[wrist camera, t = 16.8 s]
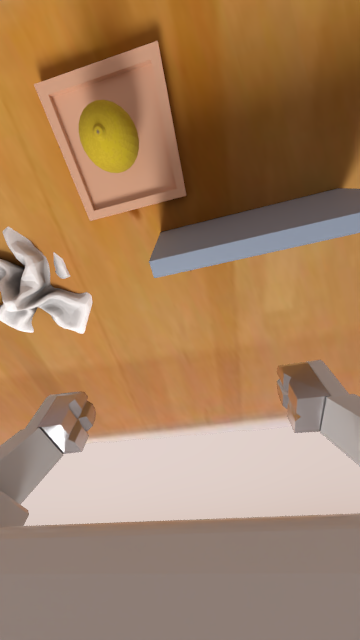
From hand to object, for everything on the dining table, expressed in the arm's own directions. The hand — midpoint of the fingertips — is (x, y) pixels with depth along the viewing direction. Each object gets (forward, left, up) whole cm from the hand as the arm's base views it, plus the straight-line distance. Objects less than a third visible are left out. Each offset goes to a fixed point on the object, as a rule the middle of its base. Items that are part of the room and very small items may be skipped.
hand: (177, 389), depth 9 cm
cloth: (+25, +1, -28) cm, 37 cm away
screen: (-10, 0, -27) cm, 29 cm away
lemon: (+4, -12, -26) cm, 29 cm away
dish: (+4, -12, -27) cm, 30 cm away
